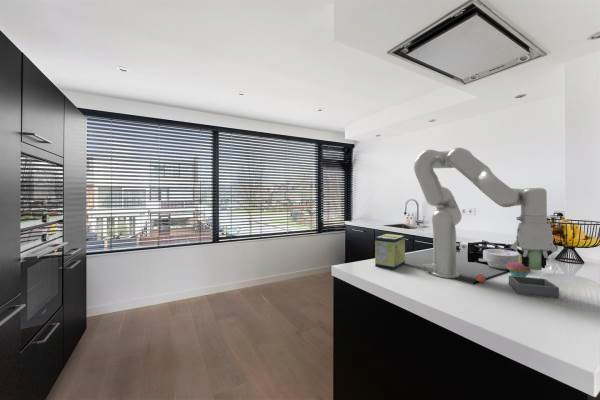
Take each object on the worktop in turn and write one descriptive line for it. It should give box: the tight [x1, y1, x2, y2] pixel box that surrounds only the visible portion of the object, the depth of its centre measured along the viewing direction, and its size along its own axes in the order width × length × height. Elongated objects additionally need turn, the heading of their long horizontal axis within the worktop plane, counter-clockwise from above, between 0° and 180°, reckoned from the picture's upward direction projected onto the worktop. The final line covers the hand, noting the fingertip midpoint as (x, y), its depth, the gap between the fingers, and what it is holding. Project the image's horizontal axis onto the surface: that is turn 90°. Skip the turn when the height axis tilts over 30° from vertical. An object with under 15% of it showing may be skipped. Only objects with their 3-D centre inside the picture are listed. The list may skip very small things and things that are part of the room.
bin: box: [508, 275, 560, 300], centre depth 104 cm, size 12×11×4 cm
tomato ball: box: [475, 273, 486, 283], centre depth 114 cm, size 4×4×4 cm
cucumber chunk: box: [527, 250, 543, 271], centre depth 103 cm, size 4×4×7 cm
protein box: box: [374, 233, 406, 270], centre depth 143 cm, size 10×16×16 cm
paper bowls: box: [482, 248, 520, 270], centre depth 136 cm, size 15×15×8 cm
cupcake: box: [506, 254, 532, 277], centre depth 120 cm, size 9×8×12 cm
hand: (533, 266), depth 103 cm, fingers closed on cucumber chunk, 4 cm apart
